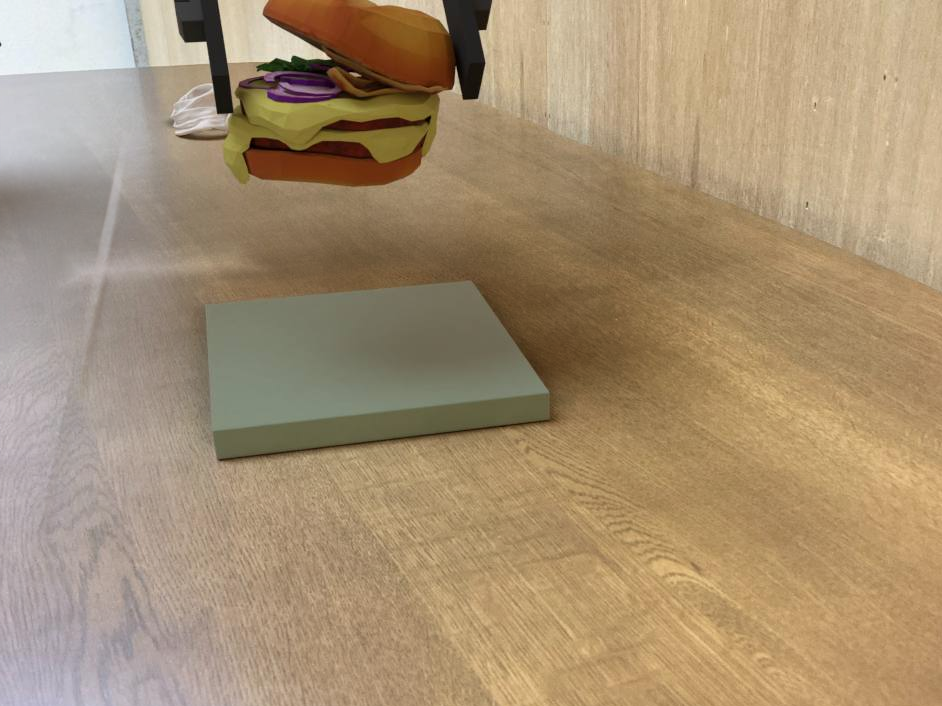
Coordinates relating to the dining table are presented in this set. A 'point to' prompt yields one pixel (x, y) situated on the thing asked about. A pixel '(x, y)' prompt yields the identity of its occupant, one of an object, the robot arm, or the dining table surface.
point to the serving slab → (363, 369)
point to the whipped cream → (198, 112)
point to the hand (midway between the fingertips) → (351, 88)
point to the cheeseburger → (343, 96)
